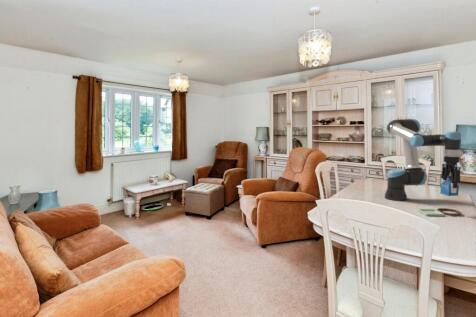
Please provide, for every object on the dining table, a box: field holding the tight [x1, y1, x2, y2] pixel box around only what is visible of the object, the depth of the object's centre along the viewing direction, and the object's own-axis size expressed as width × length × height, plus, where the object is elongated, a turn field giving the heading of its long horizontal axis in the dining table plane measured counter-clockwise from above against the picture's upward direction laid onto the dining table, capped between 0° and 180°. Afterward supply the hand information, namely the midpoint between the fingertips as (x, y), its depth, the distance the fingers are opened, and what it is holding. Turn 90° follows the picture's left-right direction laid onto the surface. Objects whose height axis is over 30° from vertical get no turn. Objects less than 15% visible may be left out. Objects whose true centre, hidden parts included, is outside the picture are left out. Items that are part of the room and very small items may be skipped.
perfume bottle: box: [440, 175, 460, 197], centre depth 158 cm, size 6×6×12 cm
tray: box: [417, 208, 446, 217], centre depth 160 cm, size 10×10×2 cm
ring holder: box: [436, 207, 462, 217], centre depth 159 cm, size 12×12×1 cm
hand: (449, 191), depth 158 cm, fingers closed on perfume bottle, 7 cm apart
